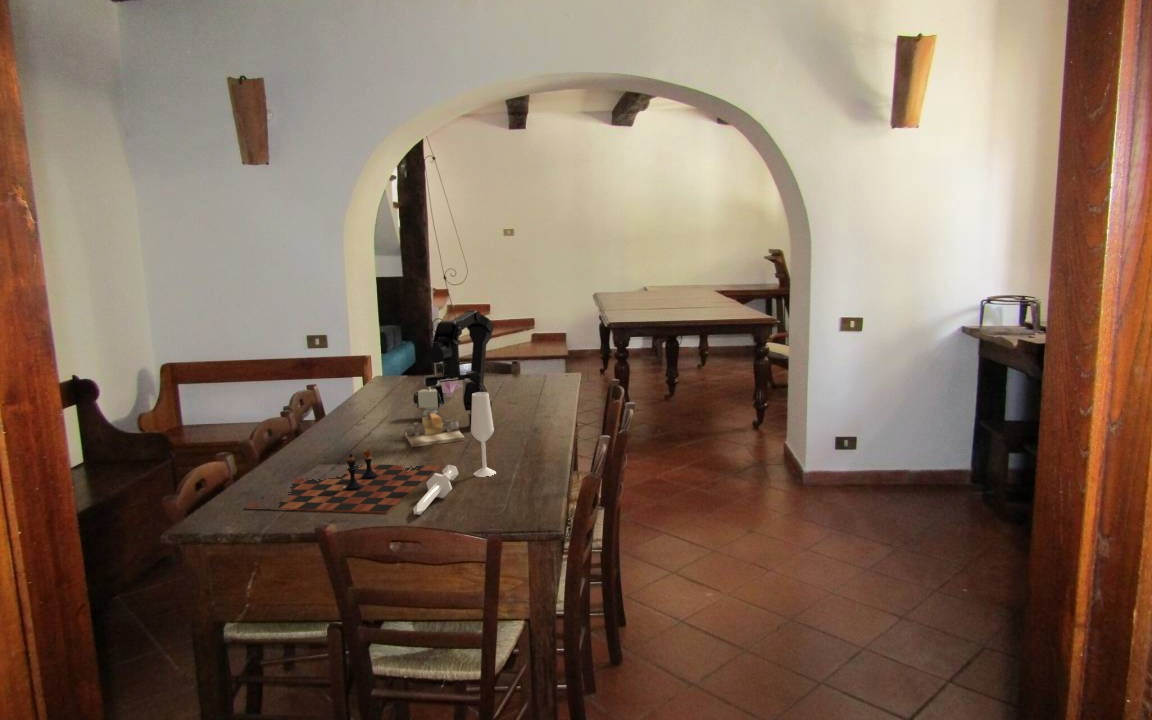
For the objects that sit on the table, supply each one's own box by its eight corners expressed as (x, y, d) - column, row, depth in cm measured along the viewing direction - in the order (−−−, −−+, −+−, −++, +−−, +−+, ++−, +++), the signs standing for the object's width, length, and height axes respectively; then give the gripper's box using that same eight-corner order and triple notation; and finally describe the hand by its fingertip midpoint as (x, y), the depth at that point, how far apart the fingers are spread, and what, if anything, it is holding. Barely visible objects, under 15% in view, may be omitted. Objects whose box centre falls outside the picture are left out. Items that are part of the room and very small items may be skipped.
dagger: (429, 516, 189) (471, 466, 214) (411, 500, 188) (455, 451, 214) (412, 534, 192) (455, 482, 217) (394, 518, 191) (439, 467, 217)
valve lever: (435, 415, 270) (435, 410, 270) (442, 423, 258) (442, 418, 257) (426, 416, 269) (426, 411, 269) (432, 424, 257) (432, 419, 256)
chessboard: (386, 515, 195) (383, 473, 194) (245, 510, 203) (240, 470, 201) (441, 469, 234) (438, 434, 233) (320, 466, 241) (317, 432, 240)
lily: (467, 398, 334) (459, 379, 335) (466, 393, 322) (458, 373, 324) (441, 409, 332) (433, 389, 333) (440, 404, 320) (431, 384, 322)
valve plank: (455, 429, 277) (454, 411, 276) (464, 440, 262) (463, 421, 261) (405, 435, 271) (404, 417, 270) (411, 447, 256) (410, 427, 255)
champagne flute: (486, 478, 221) (482, 397, 217) (468, 475, 224) (463, 395, 220) (500, 471, 226) (496, 392, 222) (483, 468, 230) (478, 390, 226)
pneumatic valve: (443, 419, 293) (441, 388, 291) (414, 419, 295) (412, 389, 293) (448, 415, 299) (446, 385, 297) (419, 416, 300) (417, 386, 298)
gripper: (472, 352, 269) (475, 395, 272) (419, 357, 263) (422, 401, 266) (479, 356, 259) (482, 401, 261) (424, 362, 253) (427, 408, 255)
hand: (453, 403), depth 261 cm, fingers open, 7 cm apart
